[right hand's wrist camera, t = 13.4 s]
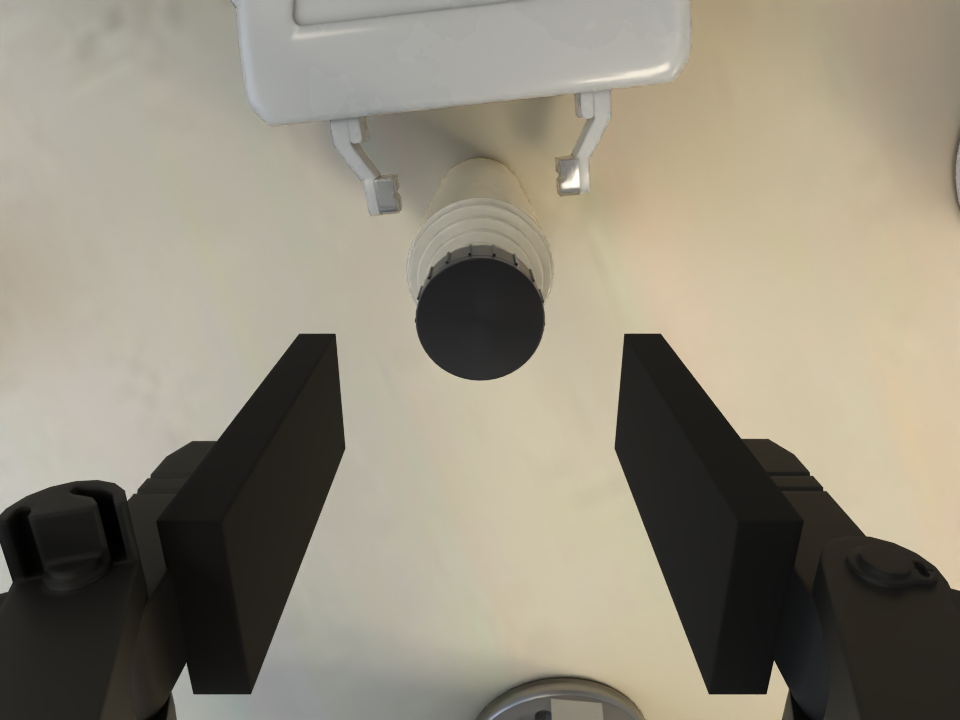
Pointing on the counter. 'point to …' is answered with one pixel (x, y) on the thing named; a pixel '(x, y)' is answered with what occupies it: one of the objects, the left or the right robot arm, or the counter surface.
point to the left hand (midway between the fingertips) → (479, 203)
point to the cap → (480, 313)
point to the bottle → (480, 222)
